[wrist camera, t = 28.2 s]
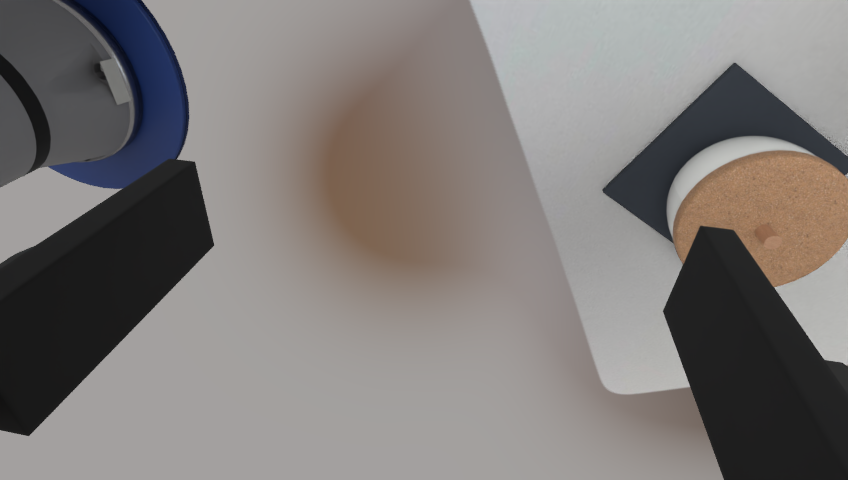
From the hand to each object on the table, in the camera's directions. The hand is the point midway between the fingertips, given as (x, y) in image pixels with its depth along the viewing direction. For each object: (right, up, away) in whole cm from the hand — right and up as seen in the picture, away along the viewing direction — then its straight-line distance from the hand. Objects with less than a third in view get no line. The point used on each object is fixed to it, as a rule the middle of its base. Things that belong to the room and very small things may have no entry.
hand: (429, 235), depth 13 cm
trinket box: (+24, +5, +26) cm, 36 cm away
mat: (+24, +5, +26) cm, 36 cm away
